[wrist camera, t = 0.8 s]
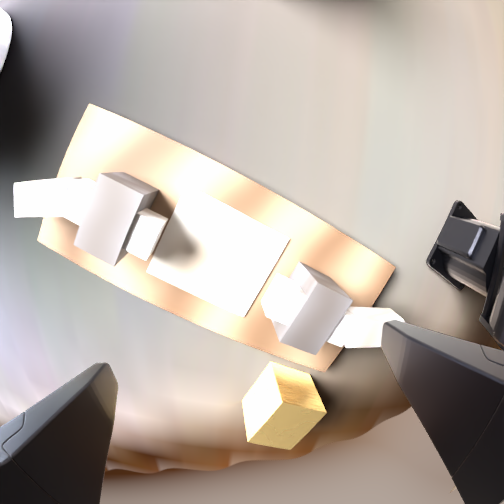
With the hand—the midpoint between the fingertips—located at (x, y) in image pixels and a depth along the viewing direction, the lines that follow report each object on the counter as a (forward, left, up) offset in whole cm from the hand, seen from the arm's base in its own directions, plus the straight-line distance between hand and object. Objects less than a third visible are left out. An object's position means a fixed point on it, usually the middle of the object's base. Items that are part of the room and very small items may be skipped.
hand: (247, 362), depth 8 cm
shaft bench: (+1, 0, -12) cm, 12 cm away
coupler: (-9, +9, -12) cm, 17 cm away
